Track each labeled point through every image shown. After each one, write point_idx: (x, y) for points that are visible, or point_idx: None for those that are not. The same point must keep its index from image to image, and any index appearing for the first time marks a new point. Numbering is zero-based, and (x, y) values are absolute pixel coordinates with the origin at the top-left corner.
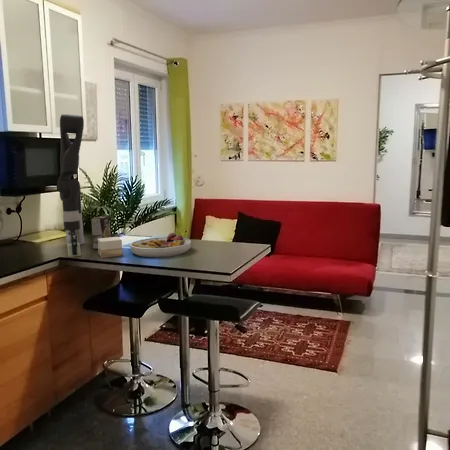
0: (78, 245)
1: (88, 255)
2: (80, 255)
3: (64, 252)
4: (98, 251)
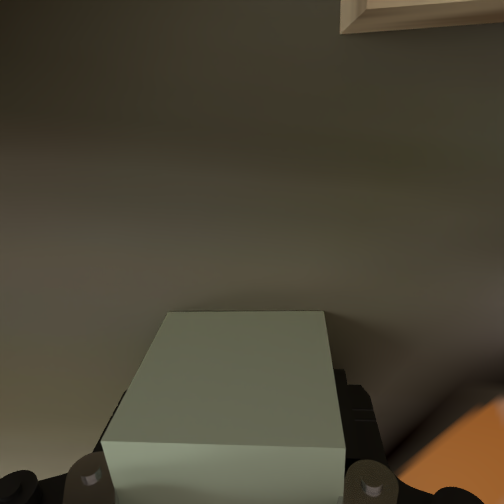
0: (340, 457)
1: (372, 213)
2: (324, 316)
3: (25, 438)
4: (403, 22)
